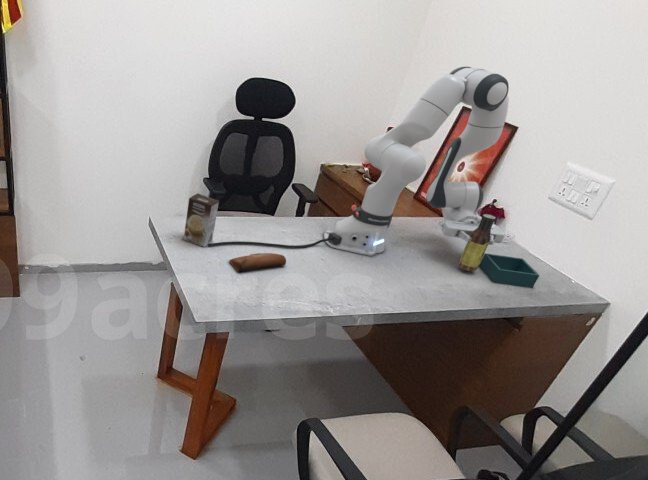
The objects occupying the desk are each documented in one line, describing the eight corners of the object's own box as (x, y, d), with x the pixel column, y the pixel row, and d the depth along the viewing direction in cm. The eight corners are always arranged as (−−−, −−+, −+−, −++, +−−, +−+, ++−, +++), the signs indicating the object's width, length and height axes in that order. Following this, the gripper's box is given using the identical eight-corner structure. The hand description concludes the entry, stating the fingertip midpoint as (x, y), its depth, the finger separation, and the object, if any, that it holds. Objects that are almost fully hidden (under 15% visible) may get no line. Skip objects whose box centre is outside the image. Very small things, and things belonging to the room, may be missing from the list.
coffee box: (182, 239, 186) (187, 197, 177) (191, 234, 191) (196, 192, 182) (204, 247, 182) (211, 205, 173) (213, 241, 187) (219, 200, 178)
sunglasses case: (271, 254, 181) (280, 244, 176) (279, 271, 179) (288, 261, 173) (227, 260, 174) (235, 249, 169) (234, 278, 172) (242, 268, 166)
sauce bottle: (478, 273, 183) (503, 222, 172) (460, 270, 183) (483, 219, 173) (473, 264, 188) (496, 214, 177) (455, 261, 189) (477, 211, 178)
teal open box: (492, 282, 181) (499, 269, 178) (478, 265, 191) (484, 253, 188) (532, 287, 180) (539, 275, 177) (516, 270, 190) (522, 258, 188)
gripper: (440, 213, 190) (453, 229, 178) (497, 220, 188) (514, 237, 177) (434, 228, 193) (446, 245, 181) (490, 236, 192) (506, 253, 180)
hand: (480, 241), depth 179 cm, fingers closed on sauce bottle, 6 cm apart
